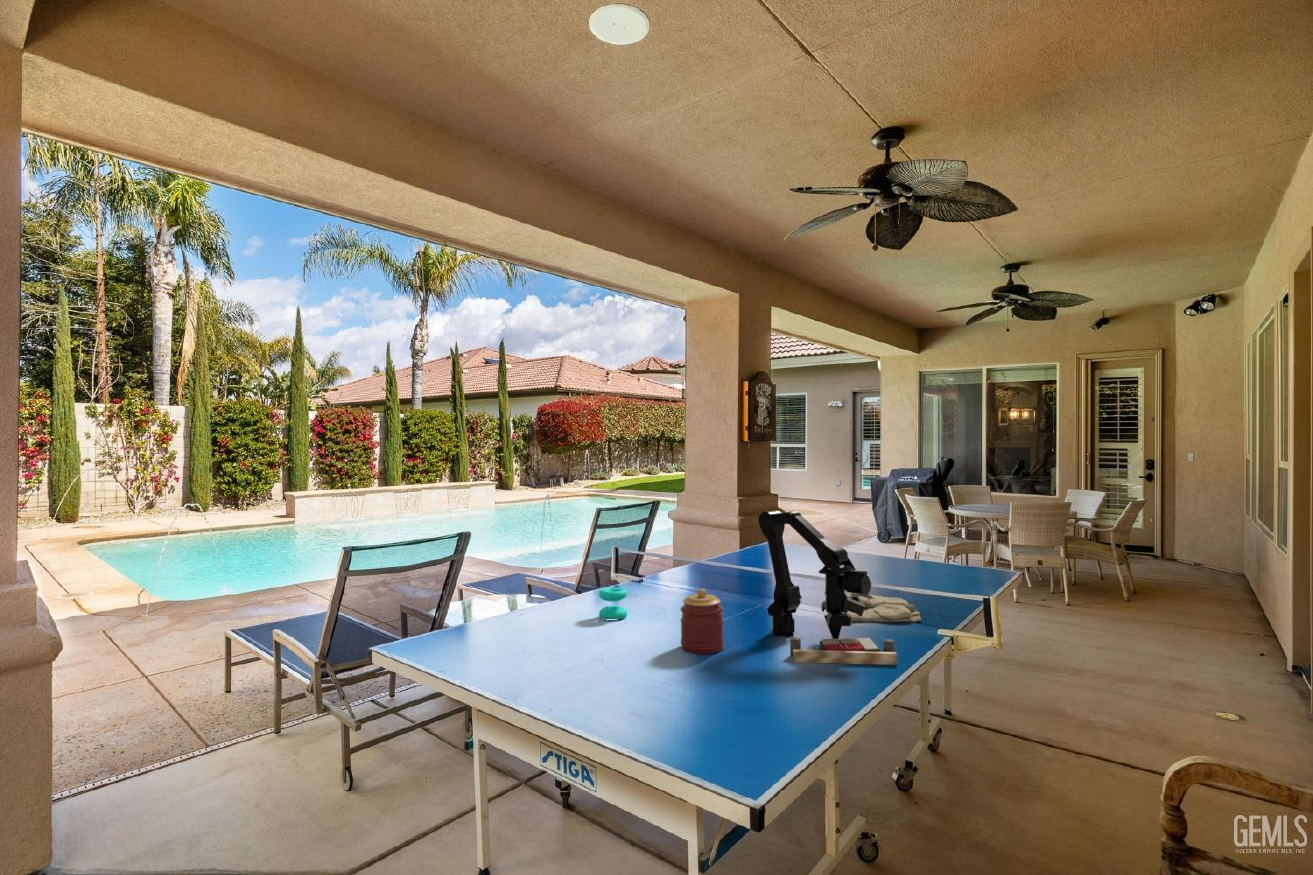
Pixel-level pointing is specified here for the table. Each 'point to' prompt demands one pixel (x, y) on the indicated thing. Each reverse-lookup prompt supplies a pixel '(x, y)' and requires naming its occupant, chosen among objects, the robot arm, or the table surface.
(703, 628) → the canister
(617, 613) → the donuts
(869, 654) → the seat bracket
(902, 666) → the table surface
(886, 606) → the pair of gloves
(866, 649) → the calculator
